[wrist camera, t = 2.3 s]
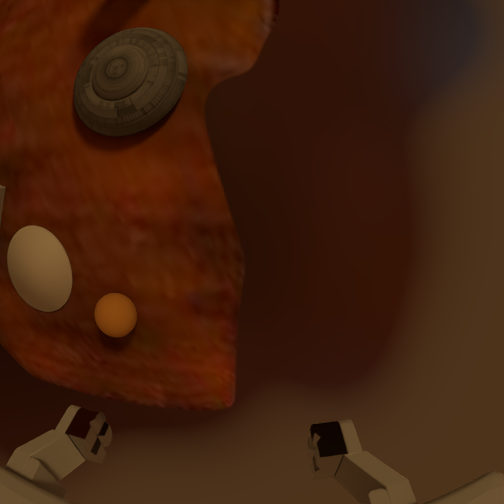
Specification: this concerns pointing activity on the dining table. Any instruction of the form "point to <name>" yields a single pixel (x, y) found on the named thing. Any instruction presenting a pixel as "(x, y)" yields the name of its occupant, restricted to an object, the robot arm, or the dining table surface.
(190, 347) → the dining table surface
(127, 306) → the ball
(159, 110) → the flying saucer
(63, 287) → the disc
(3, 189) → the bar
